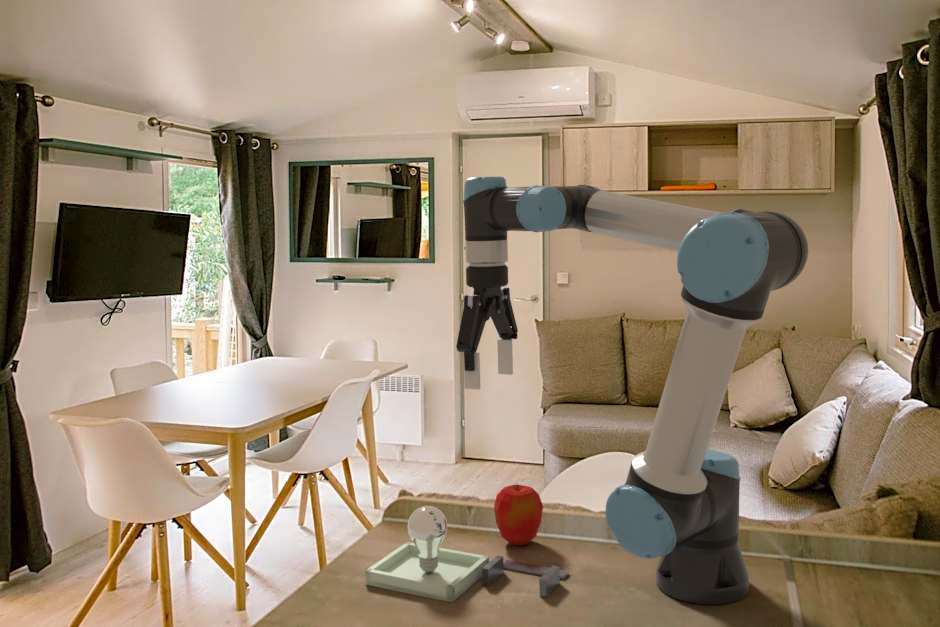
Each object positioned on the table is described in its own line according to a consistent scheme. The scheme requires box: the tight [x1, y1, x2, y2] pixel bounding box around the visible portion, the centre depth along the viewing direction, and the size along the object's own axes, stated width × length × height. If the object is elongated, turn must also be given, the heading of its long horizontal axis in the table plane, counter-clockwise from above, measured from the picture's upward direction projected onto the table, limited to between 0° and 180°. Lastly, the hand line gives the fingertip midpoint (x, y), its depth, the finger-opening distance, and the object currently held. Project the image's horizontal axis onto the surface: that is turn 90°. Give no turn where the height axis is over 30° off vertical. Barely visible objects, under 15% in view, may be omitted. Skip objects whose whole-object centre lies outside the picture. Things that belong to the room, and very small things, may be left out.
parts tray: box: [364, 541, 490, 604], centre depth 155 cm, size 17×14×2 cm
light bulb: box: [407, 505, 448, 574], centre depth 155 cm, size 7×7×12 cm
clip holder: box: [481, 555, 570, 598], centre depth 153 cm, size 12×10×3 cm
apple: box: [493, 482, 544, 546], centre depth 169 cm, size 9×9×12 cm
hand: (489, 381), depth 161 cm, fingers open, 13 cm apart
